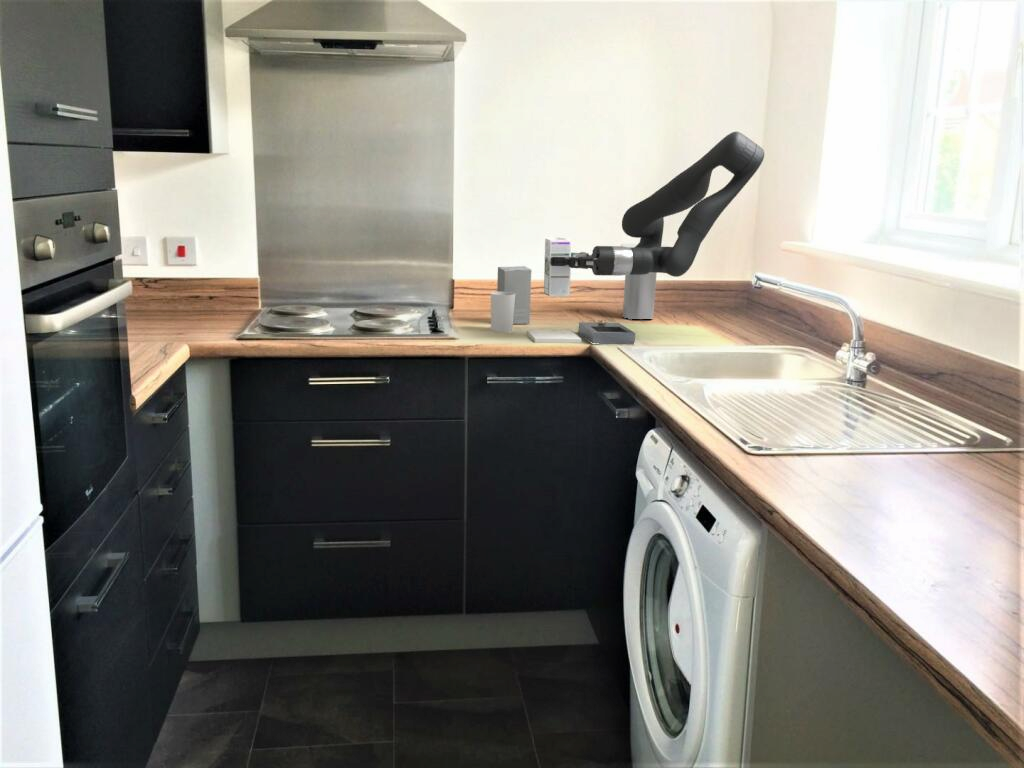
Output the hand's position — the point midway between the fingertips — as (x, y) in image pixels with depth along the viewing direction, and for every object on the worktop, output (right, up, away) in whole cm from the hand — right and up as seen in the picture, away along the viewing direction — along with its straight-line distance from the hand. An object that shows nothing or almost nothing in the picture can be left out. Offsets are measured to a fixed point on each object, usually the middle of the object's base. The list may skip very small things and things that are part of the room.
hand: (548, 260), depth 238 cm
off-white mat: (+2, -20, +5) cm, 20 cm away
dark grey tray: (+15, -20, +8) cm, 26 cm away
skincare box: (-9, -15, +26) cm, 31 cm away
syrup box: (+2, -9, +3) cm, 10 cm away
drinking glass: (-12, -17, +14) cm, 25 cm away
